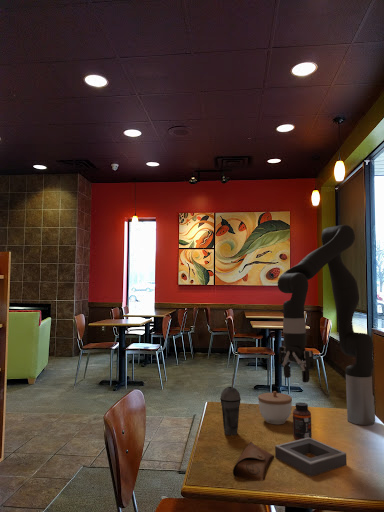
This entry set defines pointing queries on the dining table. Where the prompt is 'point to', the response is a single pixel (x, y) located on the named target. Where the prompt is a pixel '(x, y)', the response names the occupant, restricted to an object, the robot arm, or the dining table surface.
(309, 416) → the supplement bottle
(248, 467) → the sunglasses case
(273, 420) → the lidded bowl
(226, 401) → the beverage cup
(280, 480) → the dining table surface
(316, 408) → the dining table surface
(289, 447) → the holder block
